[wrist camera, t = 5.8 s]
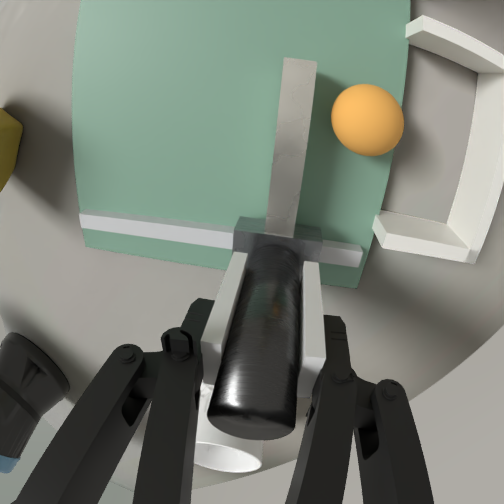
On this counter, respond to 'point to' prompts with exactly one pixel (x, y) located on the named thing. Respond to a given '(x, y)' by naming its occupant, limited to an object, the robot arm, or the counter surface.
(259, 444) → the white cup
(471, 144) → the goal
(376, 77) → the pitch
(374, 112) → the ball
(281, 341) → the black lever handle
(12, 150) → the flower pot
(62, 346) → the counter surface
